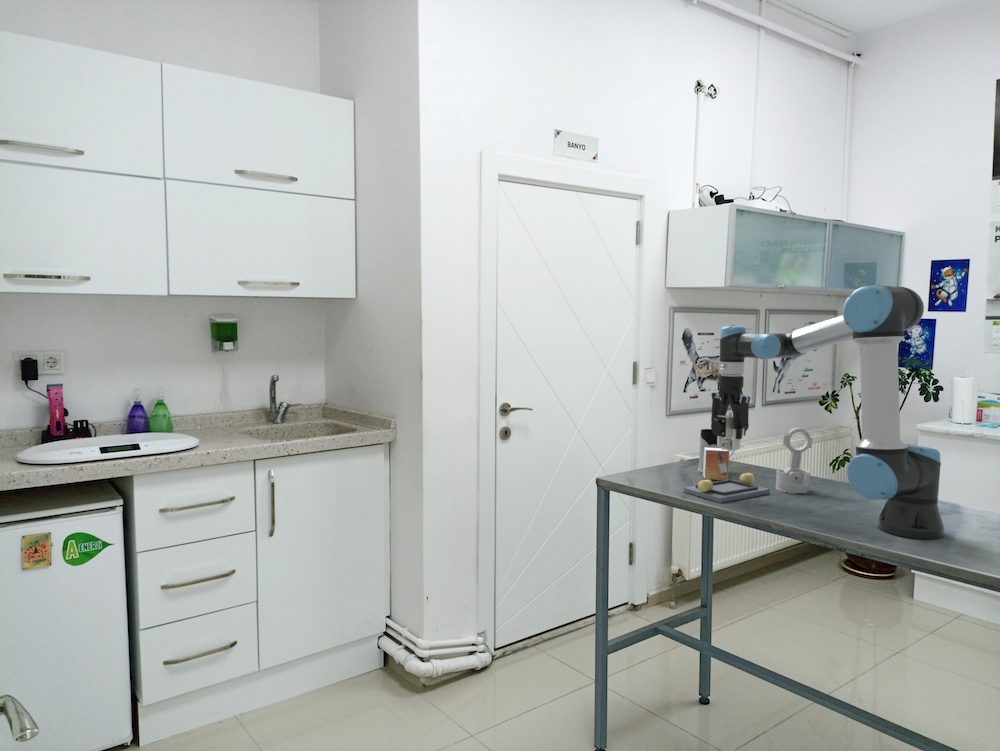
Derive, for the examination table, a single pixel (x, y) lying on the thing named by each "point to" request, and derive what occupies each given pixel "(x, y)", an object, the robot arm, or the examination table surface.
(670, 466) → the examination table surface
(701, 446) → the glass holder
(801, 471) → the engine component
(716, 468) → the small box
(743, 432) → the pneumatic valve
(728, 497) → the mounting plate
